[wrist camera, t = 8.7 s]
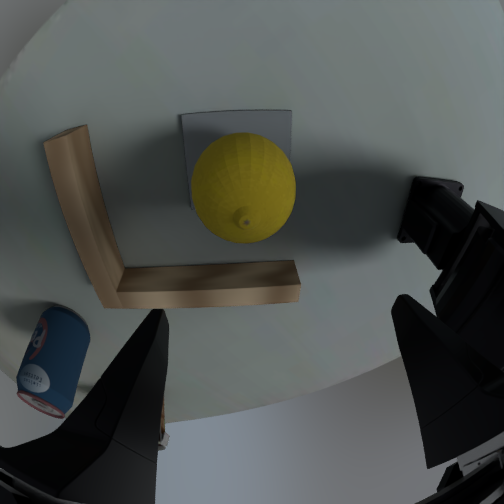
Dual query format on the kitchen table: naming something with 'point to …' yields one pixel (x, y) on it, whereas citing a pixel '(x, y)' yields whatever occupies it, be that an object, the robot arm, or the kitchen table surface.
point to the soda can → (54, 361)
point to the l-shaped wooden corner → (154, 278)
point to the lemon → (243, 187)
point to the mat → (232, 131)
